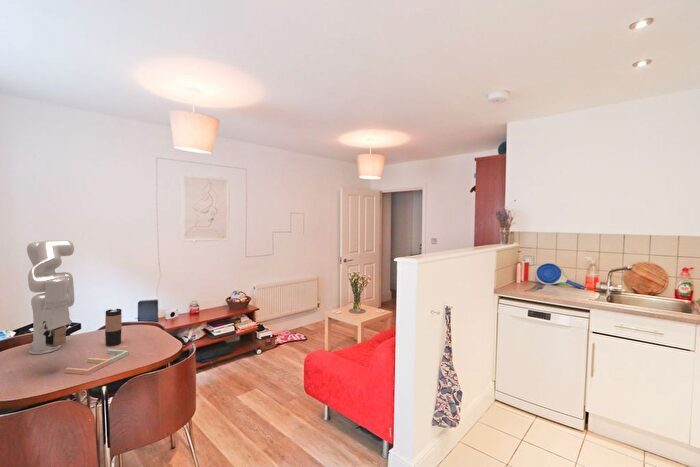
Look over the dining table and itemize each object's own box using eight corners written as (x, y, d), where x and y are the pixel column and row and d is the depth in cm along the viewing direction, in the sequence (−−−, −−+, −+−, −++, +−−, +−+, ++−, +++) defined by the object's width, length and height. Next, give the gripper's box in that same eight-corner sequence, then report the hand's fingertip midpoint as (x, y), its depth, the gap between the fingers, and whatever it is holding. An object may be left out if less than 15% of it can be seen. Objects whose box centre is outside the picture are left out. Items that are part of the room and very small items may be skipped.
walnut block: (45, 345, 148) (45, 329, 147) (56, 341, 153) (56, 325, 152) (54, 347, 147) (55, 330, 147) (65, 342, 152) (65, 326, 152)
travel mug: (112, 347, 179) (112, 312, 179) (101, 345, 181) (101, 311, 180) (124, 342, 187) (124, 309, 186) (114, 341, 188) (114, 308, 188)
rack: (64, 372, 148) (64, 368, 148) (108, 352, 171) (108, 349, 171) (87, 374, 147) (87, 370, 147) (128, 354, 170) (128, 350, 170)
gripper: (67, 299, 158) (66, 334, 159) (28, 308, 141) (28, 348, 142) (80, 300, 157) (79, 335, 158) (43, 310, 140) (43, 349, 141)
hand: (55, 341), depth 150 cm, fingers closed on walnut block, 5 cm apart
